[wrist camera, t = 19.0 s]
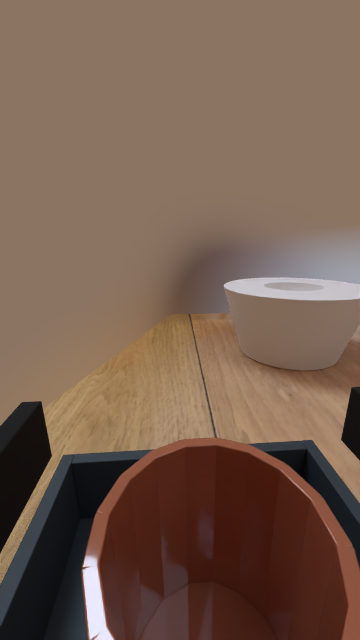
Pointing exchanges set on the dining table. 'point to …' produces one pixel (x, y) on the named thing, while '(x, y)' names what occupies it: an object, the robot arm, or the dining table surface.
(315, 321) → the white tapered round pot
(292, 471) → the cup
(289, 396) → the dining table surface
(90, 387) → the dining table surface
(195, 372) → the dining table surface
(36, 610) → the bin
